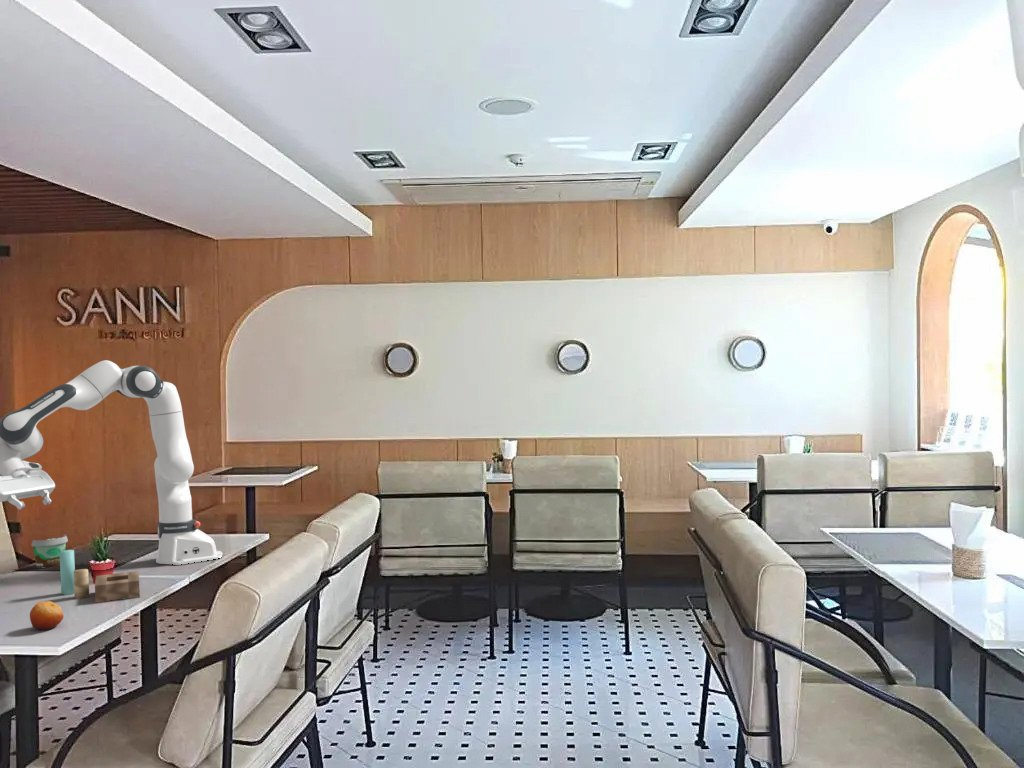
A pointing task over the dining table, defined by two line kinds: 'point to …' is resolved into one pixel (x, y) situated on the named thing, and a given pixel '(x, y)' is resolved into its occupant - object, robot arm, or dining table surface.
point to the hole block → (117, 586)
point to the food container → (49, 551)
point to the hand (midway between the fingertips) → (35, 505)
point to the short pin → (81, 583)
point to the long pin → (67, 571)
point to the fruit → (46, 615)
